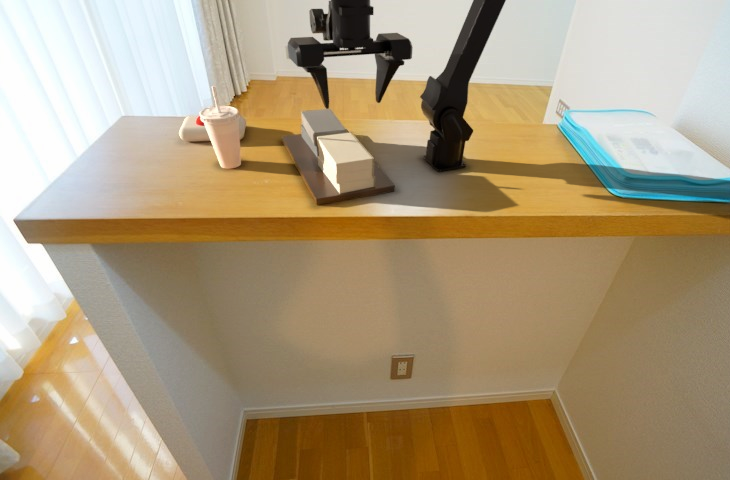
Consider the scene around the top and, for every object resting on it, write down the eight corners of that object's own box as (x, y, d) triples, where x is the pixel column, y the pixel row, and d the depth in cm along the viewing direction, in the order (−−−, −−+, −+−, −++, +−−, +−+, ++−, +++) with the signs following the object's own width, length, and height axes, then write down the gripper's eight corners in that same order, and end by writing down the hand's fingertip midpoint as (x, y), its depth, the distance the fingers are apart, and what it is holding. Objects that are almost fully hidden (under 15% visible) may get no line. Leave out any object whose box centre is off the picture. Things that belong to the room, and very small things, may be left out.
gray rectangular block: (329, 133, 87) (329, 121, 86) (348, 155, 80) (348, 142, 78) (301, 136, 85) (300, 124, 83) (318, 159, 78) (317, 146, 76)
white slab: (244, 103, 89) (240, 121, 81) (248, 123, 92) (244, 142, 84) (183, 104, 87) (173, 122, 79) (189, 124, 89) (180, 144, 82)
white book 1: (352, 141, 76) (351, 132, 75) (374, 168, 69) (374, 158, 68) (317, 146, 74) (316, 136, 73) (336, 174, 66) (336, 163, 65)
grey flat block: (331, 121, 86) (330, 108, 84) (346, 142, 78) (346, 129, 76) (302, 123, 84) (300, 111, 82) (315, 146, 76) (314, 132, 74)
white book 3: (350, 159, 79) (350, 150, 77) (375, 186, 71) (375, 177, 70) (318, 165, 76) (317, 156, 75) (339, 193, 69) (339, 184, 68)
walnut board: (346, 133, 90) (346, 128, 90) (394, 191, 73) (394, 185, 72) (282, 141, 86) (281, 136, 85) (316, 205, 68) (316, 199, 67)
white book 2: (352, 150, 77) (352, 141, 76) (373, 178, 70) (373, 168, 69) (318, 155, 75) (318, 145, 74) (336, 184, 68) (336, 174, 66)
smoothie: (213, 174, 74) (192, 93, 65) (211, 158, 78) (191, 80, 69) (250, 169, 76) (235, 90, 67) (246, 154, 80) (232, 78, 71)
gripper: (386, -13, 68) (383, 85, 79) (272, -13, 62) (285, 95, 72) (417, -2, 61) (410, 105, 71) (291, 0, 54) (303, 118, 64)
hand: (352, 105), depth 70 cm, fingers open, 9 cm apart
